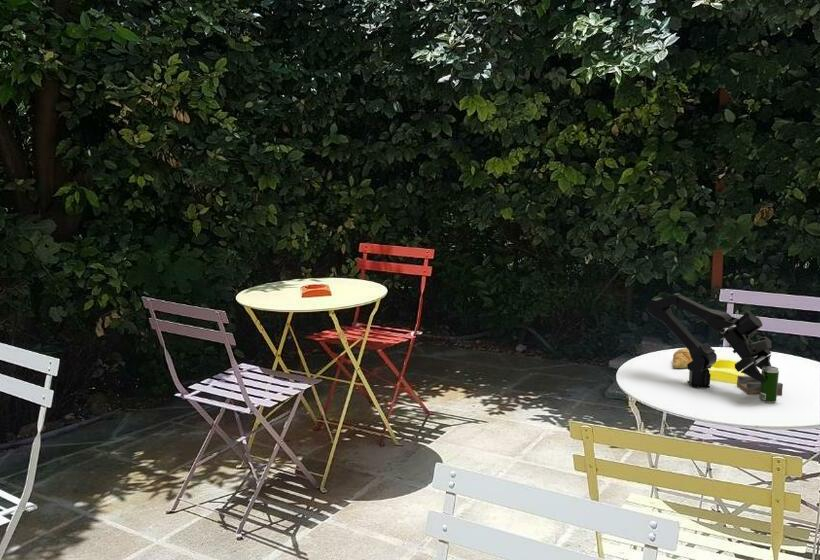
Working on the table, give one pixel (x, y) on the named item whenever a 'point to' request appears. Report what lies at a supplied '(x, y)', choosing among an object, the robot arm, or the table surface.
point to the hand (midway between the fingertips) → (769, 379)
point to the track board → (743, 387)
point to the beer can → (769, 384)
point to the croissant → (681, 358)
